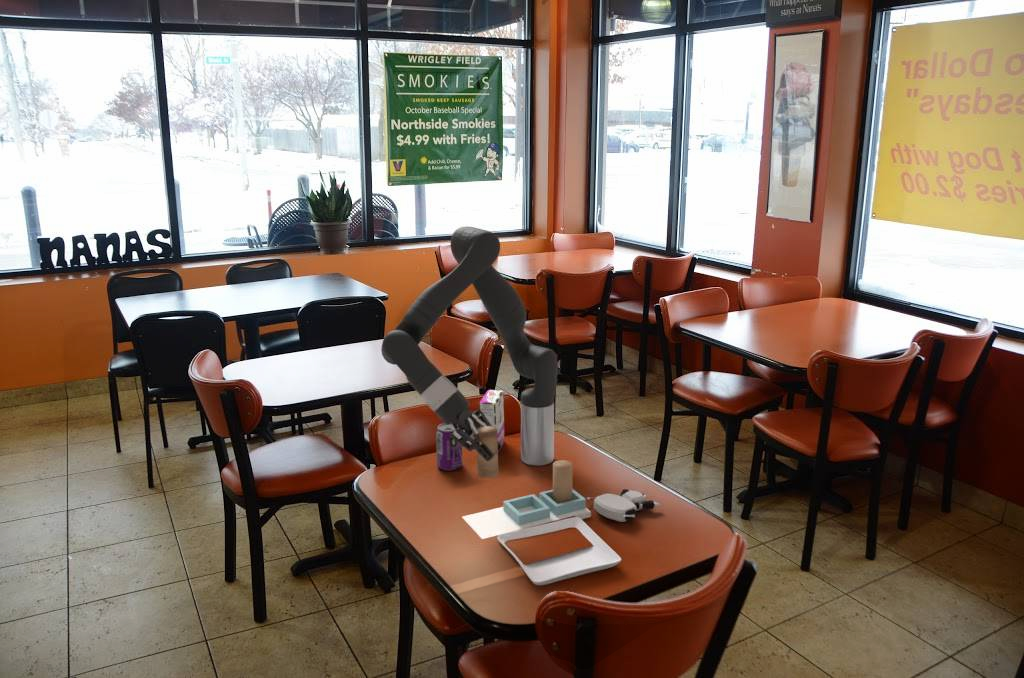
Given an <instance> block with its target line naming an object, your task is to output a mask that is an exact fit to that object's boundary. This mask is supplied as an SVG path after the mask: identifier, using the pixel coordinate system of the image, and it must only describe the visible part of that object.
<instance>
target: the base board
mask: <svg viewBox="0 0 1024 678" xmlns="http://www.w3.org/2000/svg"><path fill="white" fill-rule="evenodd" d="M573 469H574V468H573V463H572V462H571V461H570V460H566V459H565V460H564V459H560V460H556V461H555V460H554V462H553V463H552V489H549V490H544V491H541V492H539V494H538V495H539V497H538V496H537V495H536V494H534V493H532V494H528V495H524V496H519V497H516V498H512V499H508V500H504V501H503V502H502V504H503V505H502V506H501V507H496V508H492V509H489V510H484V511H479V512H477V513H471V514H467V515H463V516H461V518H462V519H463V520H464V521H465V522H466V523H467V525H468V526H470V528H471V530H473V531H474V532H475V533H476V534H477V536H478V537H479V538H480V539H481V540H484V539H485V540H486V539H489V538H492V537H497V536H499V535H502V534H506V533H510V532H514V531H518V530H523V529H527V528H531V527H535V526H539V525H543V524H548V523H552V522H556V521H560V520H564V519H569V518H572V517H579V518H580V519H581V520H584V519H588V518H591V516H592V512H591V510H590V509H588V508H587V498H585V497H584V496H583V495H581V494H580V493H579V492H577V491H576V490H575V489H574V488H573Z"/></svg>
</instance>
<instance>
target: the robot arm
mask: <svg viewBox="0 0 1024 678" xmlns="http://www.w3.org/2000/svg"><path fill="white" fill-rule="evenodd" d="M450 251H451V254H452V256H453V258H454V260H455V261H456V262H457V264H458V265H457V266H456V267H454V269H453V270H452V271H451V272H449V273H447V275H445V276H444V277H441V279H438V280H437V281H436V282H434V283H433V284H431V285H430V286H428V287H427V288H425V289H424V290H423V291H422V292H421V293H420V294H419V296H418V297H417V298H416V299H415V301H414V302H413V303H412V304H411V306H409V308H408V309H407V311H406V312H405V314H404V315H403V317H402V320H401V321H400V322H399V323H398V324H397V326H396V327H395V329H394V330H390V331H389V332H388V333H386V335H384V336H383V339H382V344H381V349H380V350H381V355H382V358H383V359H384V360H385V361H386V362H387V363H389V365H390V364H391V365H396V367H398V368H399V370H401V372H402V373H403V374H404V375H405V377H406V380H407V382H408V384H409V385H411V387H412V388H413V389H414V390H415V391H416V392H417V393H418V394H419V395H420V397H421V398H422V399H423V401H424V402H425V403H426V405H427V406H428V407H429V408H430V409H431V410H432V411H433V413H435V414H436V415H437V417H438V418H439V419H440V420H441V421H442V422H443V423H445V424H446V425H448V424H450V423H451V424H452V425H453V427H454V428H455V431H454V432H453V433H452V434H451V436H452V437H453V438H454V439H455V440H456V441H458V442H459V443H460V444H461V445H462V447H463V448H464V449H466V450H467V451H469V452H473V451H476V452H477V451H478V452H479V453H480V454H481V455H482V457H483V458H484V459H485V460H486V461H489V460H491V459H492V458H493V457H494V454H493V453H492V452H491V451H490V450H489V448H488V447H487V446H486V445H485V444H483V442H482V441H481V439H480V438H479V433H478V431H477V429H478V428H479V427H483V426H492V425H491V424H490V422H489V421H488V420H487V418H486V417H485V415H484V414H483V413H482V411H481V410H480V408H477V410H475V411H473V410H471V409H470V408H469V406H470V405H471V402H470V401H469V400H468V399H467V398H466V396H465V395H464V394H463V393H462V392H461V390H459V389H458V388H457V387H456V386H455V384H454V383H453V382H452V381H450V380H449V379H448V378H447V377H446V376H445V375H444V374H443V373H442V372H441V371H440V370H439V369H438V368H437V366H435V364H434V363H432V361H430V359H428V357H427V356H426V354H425V353H424V350H422V348H421V347H420V346H419V344H420V343H421V341H422V340H423V339H424V337H425V336H426V335H427V333H429V332H430V331H431V330H432V328H433V326H435V325H436V323H437V322H438V321H439V319H440V318H441V317H442V315H443V314H444V313H445V312H446V311H447V310H448V308H449V307H450V306H451V305H452V304H453V303H454V302H455V300H457V298H458V297H459V296H461V295H462V294H463V293H464V292H465V291H466V290H467V289H468V288H469V287H470V286H471V285H472V286H473V288H474V290H475V292H476V293H477V295H478V297H479V298H480V300H481V303H482V304H483V306H484V308H485V310H486V312H487V313H488V316H489V318H490V319H491V321H492V323H493V324H494V326H495V328H496V330H497V331H498V333H499V335H500V337H501V339H502V341H503V342H504V345H505V347H506V350H507V352H508V355H509V357H510V360H511V362H512V365H513V367H514V369H515V371H516V372H517V374H519V375H520V376H522V377H524V378H527V379H531V380H534V384H533V387H530V388H527V389H525V390H523V391H522V392H521V394H520V457H521V461H522V462H523V463H525V464H526V465H529V466H546V465H548V464H551V463H552V462H553V461H555V460H554V459H555V454H554V453H555V438H554V437H555V396H556V393H557V387H558V386H557V384H558V383H557V382H558V381H557V380H558V366H559V364H558V357H557V354H556V352H555V351H554V350H553V349H551V348H547V347H543V346H538V345H534V344H532V343H531V342H530V340H529V338H528V336H527V335H526V333H525V330H524V328H525V325H526V322H527V310H526V307H525V305H524V302H523V301H522V299H521V296H520V294H519V293H518V291H517V290H516V288H515V287H514V286H513V285H512V284H511V283H510V282H509V281H508V280H507V279H506V278H505V277H504V276H503V275H502V274H501V273H500V272H499V271H498V270H497V269H496V268H495V267H494V266H493V264H494V263H495V262H496V260H497V259H498V257H499V256H500V251H501V242H500V239H499V237H498V236H497V234H495V233H494V232H492V231H489V230H486V229H482V228H478V227H473V226H460V227H458V228H456V229H455V230H454V231H453V233H452V235H451V238H450ZM482 444H483V445H482ZM502 447H503V445H501V444H500V443H499V442H498V450H499V449H500V450H501V449H502Z"/></svg>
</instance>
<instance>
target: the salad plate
mask: <svg viewBox="0 0 1024 678" xmlns="http://www.w3.org/2000/svg"><path fill="white" fill-rule="evenodd" d="M569 528H570V529H571V528H576V529H577V530H578V531H579V532H580V533H581V534H582V535H583V537H585V539H586V540H588V541H589V542H590V543H591V546H586V547H583V548H579V549H576V550H573V551H569V552H566V553H561V554H557V555H555V556H551V557H547V558H544V559H540V560H536V561H533V562H529V563H526V564H523V562H522V561H521V559H520V558H518V556H517V555H516V554H515V553H514V551H512V549H510V547H508V546H507V545H506V544H505V543H506V542H509V541H513V540H518V539H524V538H529V537H534V536H539V535H544V534H548V533H549V534H550V533H554V532H558V531H562V530H565V529H569ZM496 537H497V540H498V542H499V543H500V544H501V545H502V546H503V547H504V549H506V550H507V551H508V552H509V553H510V554H511V556H512V557H513V558H514V559H515V560H516V561H517V563H518V565H520V567H521V568H522V570H523V571H524V572H525V573H524V574H526V576H527V577H528V578H529V580H530V581H531V582H532V584H534V585H536V586H544V585H545V586H546V585H550V584H553V583H556V582H559V581H563V580H567V579H571V578H575V577H578V576H581V575H586V574H590V573H594V572H598V571H603V570H606V569H609V568H613V567H615V566H617V565H618V564H620V563H621V562H622V558H621V557H620V555H619V554H618V553H617V552H616V551H614V549H612V548H611V547H610V546H609V545H608V544H607V543H606V542H605V541H604V540H603V539H602V538H601V537H600V536H599V535H598V534H597V533H596V532H595V531H594V530H593V529H592V528H591V527H590V526H589V525H588V524H587V523H586V522H585V521H584V519H580V518H579V517H576V516H572V517H568V518H564V519H560V520H556V521H552V522H548V523H544V524H540V525H536V526H532V527H528V528H525V529H521V530H517V531H513V532H509V533H505V534H501V535H497V536H496Z"/></svg>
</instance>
